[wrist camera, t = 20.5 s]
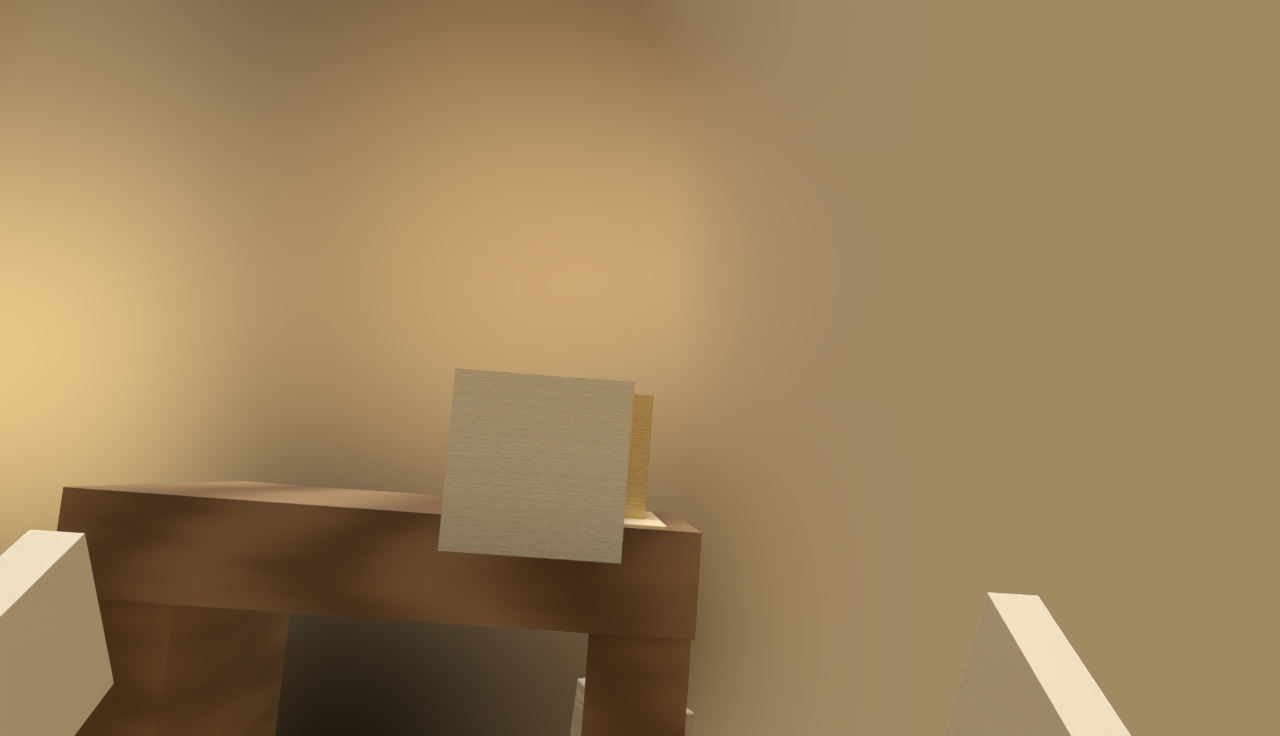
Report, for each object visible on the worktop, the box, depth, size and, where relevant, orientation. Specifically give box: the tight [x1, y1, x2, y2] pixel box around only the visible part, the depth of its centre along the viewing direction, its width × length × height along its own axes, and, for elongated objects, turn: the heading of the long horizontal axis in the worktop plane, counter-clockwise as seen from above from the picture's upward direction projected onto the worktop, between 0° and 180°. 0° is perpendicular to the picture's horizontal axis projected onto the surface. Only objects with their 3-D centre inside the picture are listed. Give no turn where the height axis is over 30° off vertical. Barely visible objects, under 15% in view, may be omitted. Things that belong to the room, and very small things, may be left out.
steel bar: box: [438, 369, 653, 564], centre depth 26 cm, size 5×22×4 cm, turn 2°
